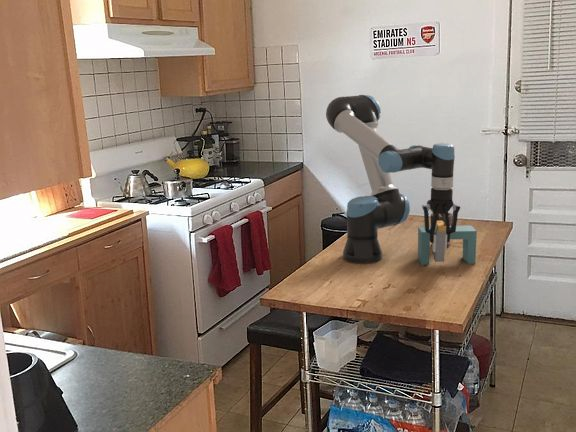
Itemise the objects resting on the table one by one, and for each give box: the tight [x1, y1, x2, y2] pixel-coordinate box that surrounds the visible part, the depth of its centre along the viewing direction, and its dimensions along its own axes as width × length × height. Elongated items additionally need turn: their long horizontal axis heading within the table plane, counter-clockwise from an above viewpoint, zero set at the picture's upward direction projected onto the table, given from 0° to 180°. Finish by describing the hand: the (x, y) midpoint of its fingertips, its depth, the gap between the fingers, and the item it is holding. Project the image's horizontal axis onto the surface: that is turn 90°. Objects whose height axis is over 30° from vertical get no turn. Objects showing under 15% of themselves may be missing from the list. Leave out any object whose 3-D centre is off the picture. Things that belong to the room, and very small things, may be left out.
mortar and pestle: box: [426, 199, 453, 248], centre depth 266 cm, size 12×9×20 cm
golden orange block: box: [433, 221, 446, 263], centre depth 240 cm, size 3×7×14 cm, turn 178°
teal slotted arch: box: [417, 225, 478, 266], centre depth 249 cm, size 20×8×12 cm, turn 88°
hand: (439, 250), depth 241 cm, fingers closed on golden orange block, 3 cm apart
